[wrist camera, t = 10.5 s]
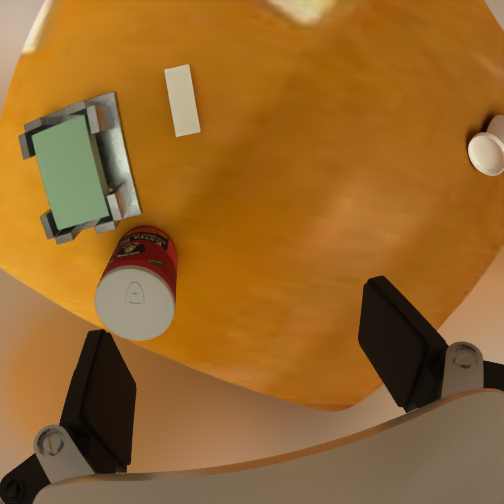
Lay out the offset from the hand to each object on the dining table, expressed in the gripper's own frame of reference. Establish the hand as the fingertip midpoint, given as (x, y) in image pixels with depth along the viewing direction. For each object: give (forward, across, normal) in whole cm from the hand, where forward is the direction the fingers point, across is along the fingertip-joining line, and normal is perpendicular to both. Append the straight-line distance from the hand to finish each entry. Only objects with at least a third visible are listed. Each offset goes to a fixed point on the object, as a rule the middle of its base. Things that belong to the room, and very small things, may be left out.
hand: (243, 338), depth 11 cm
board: (+22, +13, -4) cm, 26 cm away
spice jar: (+27, -45, -1) cm, 52 cm away
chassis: (+26, +13, -4) cm, 30 cm away
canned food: (+26, +9, +8) cm, 29 cm away
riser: (+26, +1, -9) cm, 28 cm away
